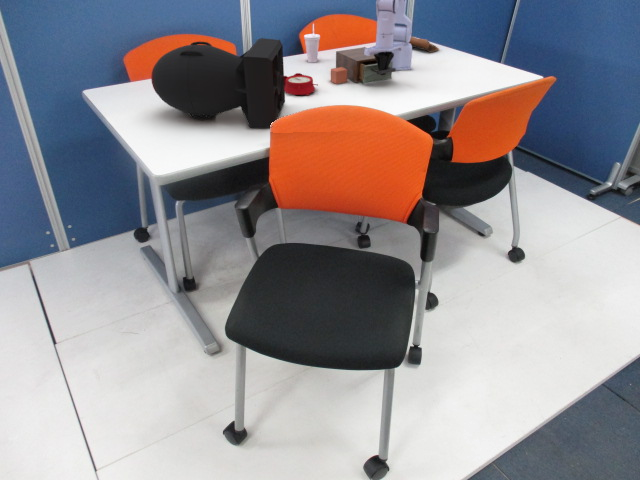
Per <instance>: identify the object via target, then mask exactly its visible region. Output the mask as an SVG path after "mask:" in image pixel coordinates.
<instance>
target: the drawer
mask: <svg viewBox="0 0 640 480" xmlns="http://www.w3.org/2000/svg"><path fill="white" fill-rule="evenodd" d="M392 65H393V62H390V64H389V66H388V69H385V70H379V69H378V64H377V61H376V60H374V61H368V62H362V63H359V74H358V78H359V79H361V80H363V82H362V83H363V84H369V83H377V82H381V81H385V80H392V77H393V73H395V72H397V70H396V69H395V68H392ZM385 73H386V75H380V74H385Z"/></svg>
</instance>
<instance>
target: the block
mask: <svg viewBox="0 0 640 480" xmlns="http://www.w3.org/2000/svg"><path fill="white" fill-rule="evenodd" d="M330 82H331V83H333V84H334V85H337V84H338V85H339V84H343V83H347V82H348V78H347V69H345V68H343V67H339V68H336V67H333V68H330Z"/></svg>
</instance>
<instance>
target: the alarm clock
mask: <svg viewBox="0 0 640 480" xmlns="http://www.w3.org/2000/svg"><path fill="white" fill-rule="evenodd" d="M315 86H319V84H318V83H314V78H313V77H312V76H310V75H306V74H302V73H301V72H296V73H294V74H292V75H290V76H287V75H284V89H285V94H288V95H294V96H303V95H306V96H310V94H313V93H314V92H315V91H316V87H315Z"/></svg>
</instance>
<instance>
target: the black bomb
mask: <svg viewBox="0 0 640 480" xmlns="http://www.w3.org/2000/svg"><path fill="white" fill-rule="evenodd" d="M283 46H284V45H283V43H282V41H281V39H274V38H263V37H261V38H258V39H257V40H256V41H255V42H254V44H252V46H251V47H250V48H249V49H248V50H247V51H245V52H244V53H243V54H241V55H240V56H239V55H237V54H234V53H232V52H230V51H227V50H224V49H221V48H219V47H216V46H213V45H212V44H211V43H210V42H207V41H193V42H192V43H190V44H186V45H184V46H179V47H177V48H174V49H172V50H170V51H168V52H166V53H165V54H163V55H162V56H161V57H160V58H158V60H157V61H156V62H155V64H154V66H153V68H152V70H151V79H150V80H151V85H152V88H153V91H154V92H155V93H156V95H157V96H158V97H159V99H161V100H162V101H163V102H164V104H167V105H168V106H170V107H172V108H173V109H175V110H177V111H180V112H182V113H184V114H188V115H189V116H190V117H191V118H192V119H195V120H208V119H209V118H211V117H212V116H216V115H219V114H223V113H226V112H230V111H232V110H235V109H238V108H240V109H241V111H242V114H243V115H244V118H245V120H246V122H247V124H248V127H249V128H251V129H265V128H271V127H270V125H271V123H272V122H274V121H275V120H276V121H277V120H278V118H279V115H280V113H281V111H282V110H283V108H284V105H285V103H286V92H285V89H284V76H285V69H284V50H283V48H284V47H283Z"/></svg>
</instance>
